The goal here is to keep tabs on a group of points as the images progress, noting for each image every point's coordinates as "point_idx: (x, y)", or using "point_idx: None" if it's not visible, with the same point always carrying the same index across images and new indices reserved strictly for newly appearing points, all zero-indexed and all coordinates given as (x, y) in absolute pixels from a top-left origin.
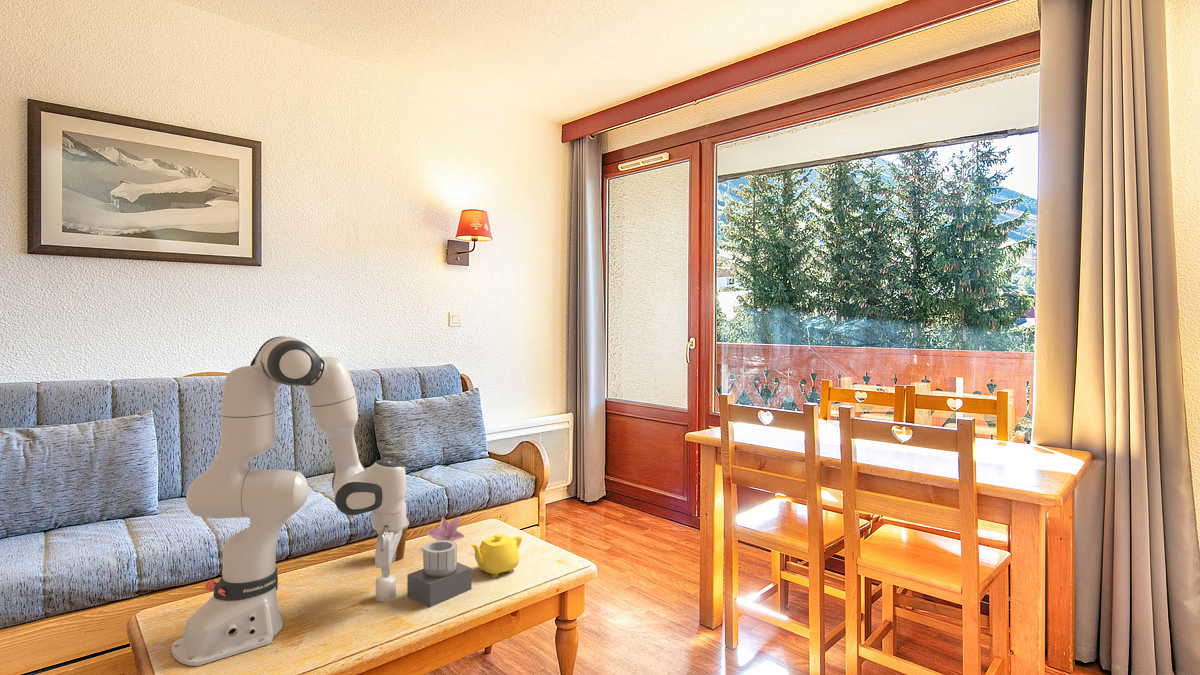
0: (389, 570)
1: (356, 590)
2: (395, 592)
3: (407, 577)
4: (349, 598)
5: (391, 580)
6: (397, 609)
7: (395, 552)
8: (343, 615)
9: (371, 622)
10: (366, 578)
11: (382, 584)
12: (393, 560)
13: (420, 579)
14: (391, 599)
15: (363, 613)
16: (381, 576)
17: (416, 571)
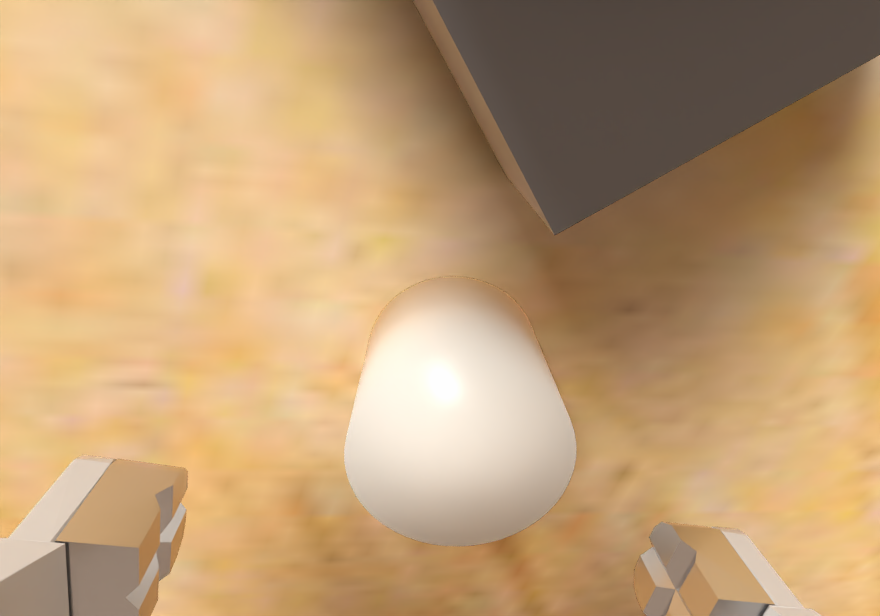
0: (744, 589)
1: (257, 536)
2: (486, 297)
3: (544, 222)
4: (383, 569)
5: (525, 408)
6: (733, 277)
7: (37, 566)
8: (627, 590)
9: (832, 452)
10: (31, 480)
11: (559, 483)
12: (182, 485)
13: (875, 31)
14: (525, 316)
15: (663, 495)
16: (365, 498)
17: (488, 71)
